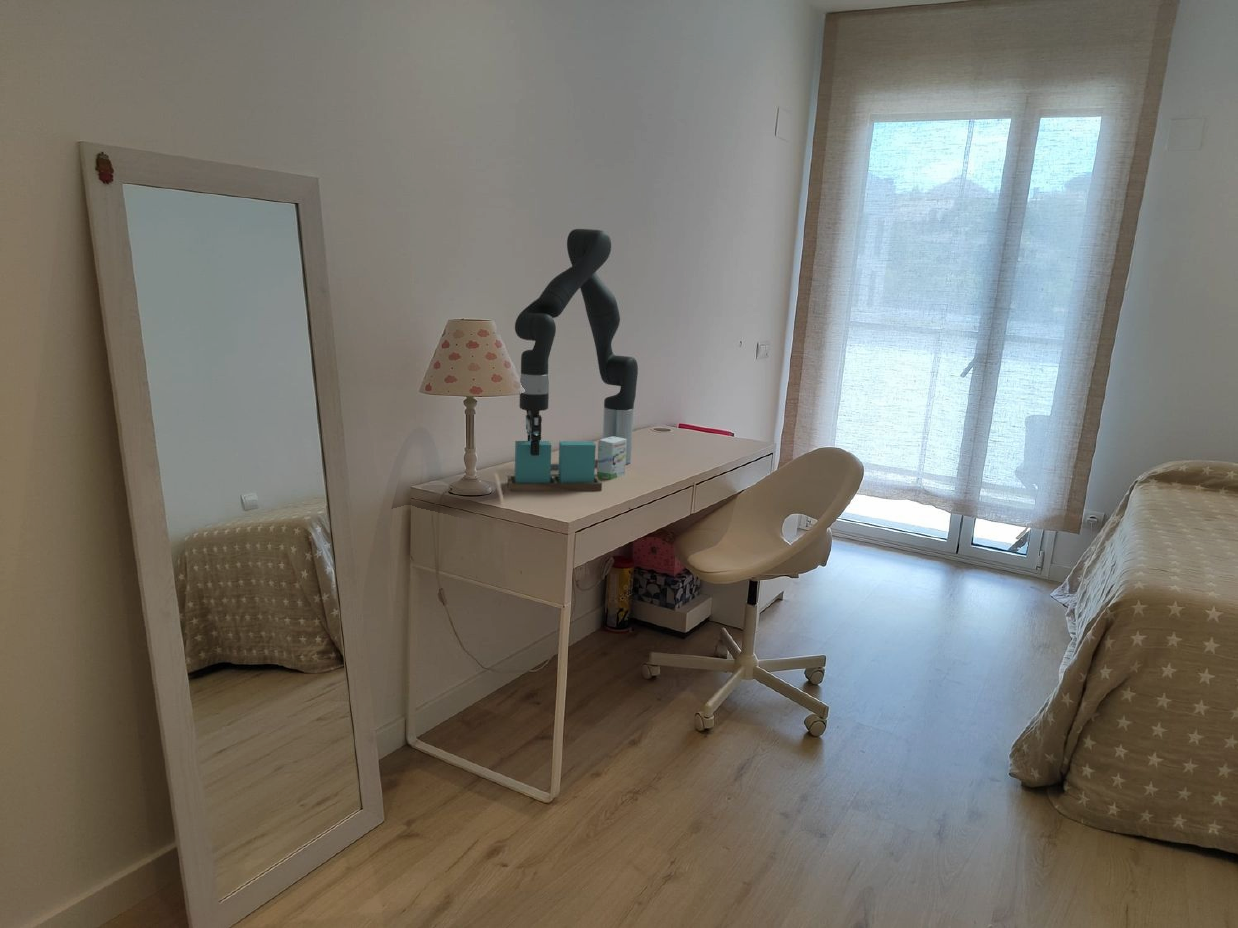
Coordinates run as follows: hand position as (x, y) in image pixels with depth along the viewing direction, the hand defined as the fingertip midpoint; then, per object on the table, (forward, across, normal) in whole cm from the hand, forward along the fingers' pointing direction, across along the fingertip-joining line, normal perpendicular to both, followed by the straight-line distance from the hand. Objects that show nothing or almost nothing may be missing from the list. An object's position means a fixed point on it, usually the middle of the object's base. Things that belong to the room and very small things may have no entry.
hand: (533, 451), depth 212 cm
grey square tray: (+11, +14, -6) cm, 18 cm away
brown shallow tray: (+11, 0, -6) cm, 12 cm away
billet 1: (+10, 0, 0) cm, 10 cm away
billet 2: (+10, 0, -12) cm, 15 cm away
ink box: (+11, +12, -24) cm, 29 cm away
